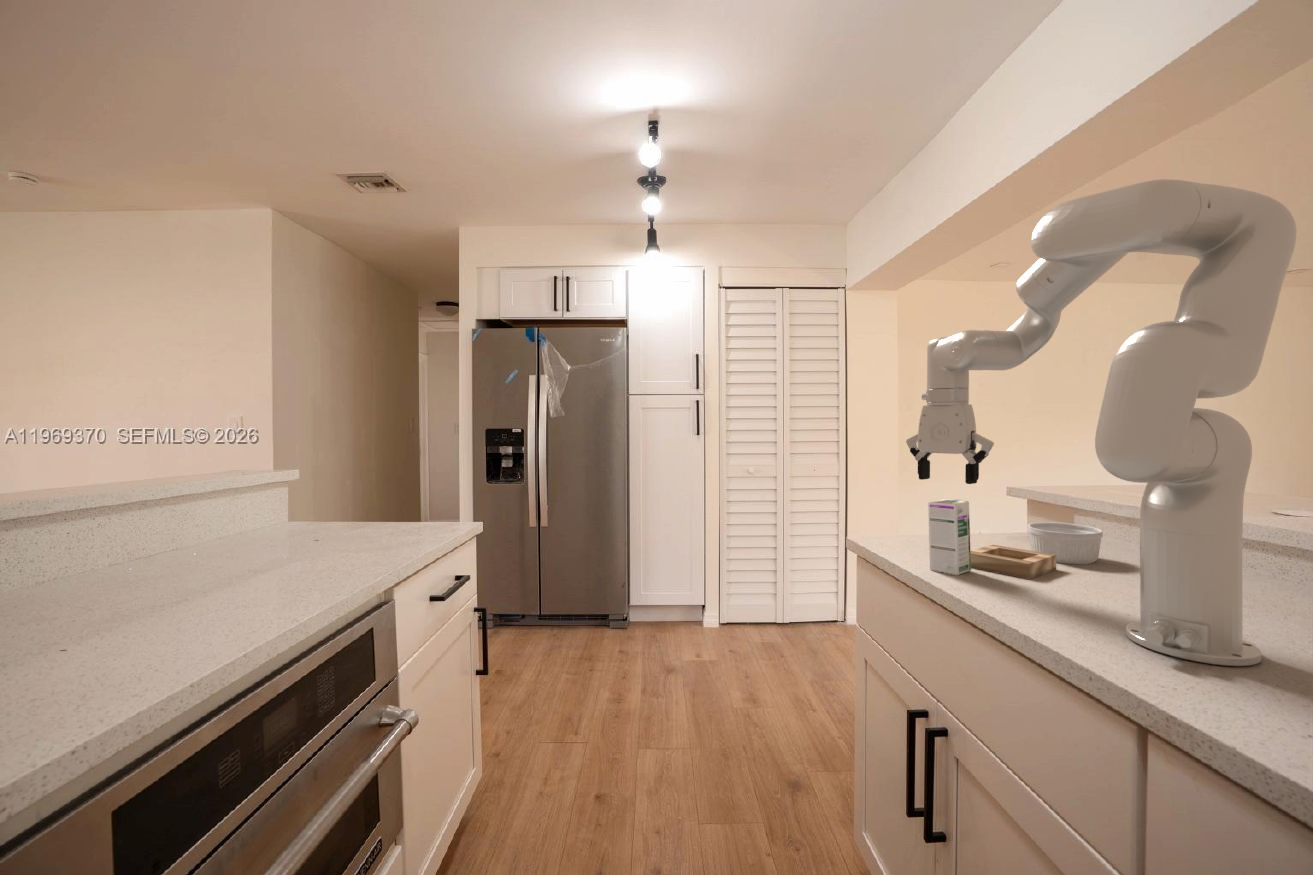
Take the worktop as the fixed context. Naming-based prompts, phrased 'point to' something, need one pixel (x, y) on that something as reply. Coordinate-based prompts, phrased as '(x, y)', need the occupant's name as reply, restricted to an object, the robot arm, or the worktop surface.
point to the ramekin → (1066, 541)
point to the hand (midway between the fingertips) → (946, 481)
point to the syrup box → (949, 536)
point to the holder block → (1013, 561)
